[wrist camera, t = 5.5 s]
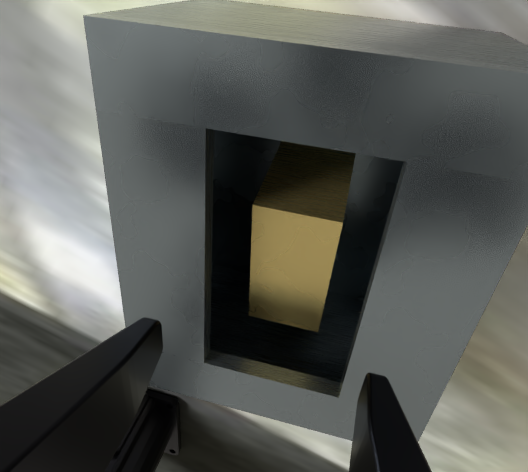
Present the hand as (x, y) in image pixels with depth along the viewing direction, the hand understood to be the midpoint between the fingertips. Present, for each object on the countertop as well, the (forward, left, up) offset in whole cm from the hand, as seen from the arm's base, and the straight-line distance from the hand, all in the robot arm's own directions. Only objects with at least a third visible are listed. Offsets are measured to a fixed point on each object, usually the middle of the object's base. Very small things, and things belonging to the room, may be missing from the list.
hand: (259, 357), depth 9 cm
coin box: (0, 0, -10) cm, 10 cm away
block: (0, 0, -9) cm, 9 cm away
